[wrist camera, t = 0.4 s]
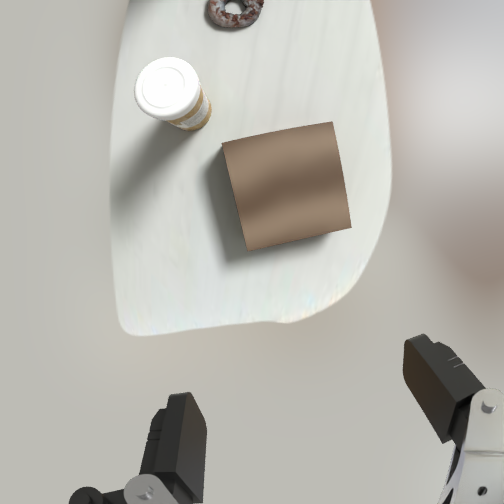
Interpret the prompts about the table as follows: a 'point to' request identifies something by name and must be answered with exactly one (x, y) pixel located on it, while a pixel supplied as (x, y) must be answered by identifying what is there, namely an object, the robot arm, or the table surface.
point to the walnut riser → (288, 185)
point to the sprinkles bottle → (172, 94)
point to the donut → (246, 18)
